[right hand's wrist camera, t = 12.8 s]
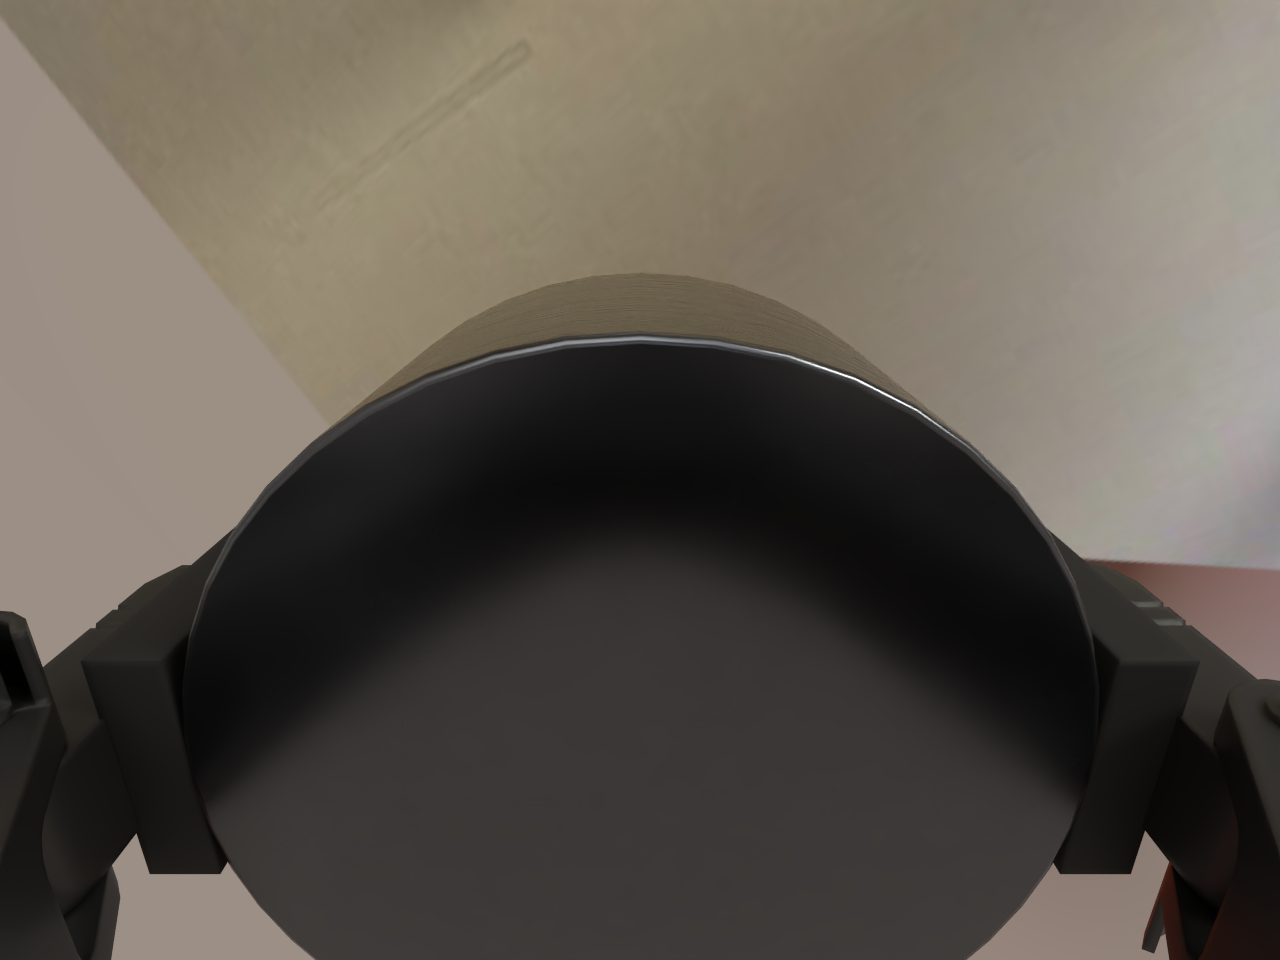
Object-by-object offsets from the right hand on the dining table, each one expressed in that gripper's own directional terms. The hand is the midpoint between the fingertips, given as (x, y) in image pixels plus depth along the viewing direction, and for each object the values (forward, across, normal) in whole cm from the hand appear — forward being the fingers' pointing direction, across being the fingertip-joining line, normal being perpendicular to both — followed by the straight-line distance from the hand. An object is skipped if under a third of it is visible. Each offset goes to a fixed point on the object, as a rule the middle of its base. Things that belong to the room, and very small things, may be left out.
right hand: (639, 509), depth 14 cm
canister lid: (-3, 0, 0) cm, 3 cm away
